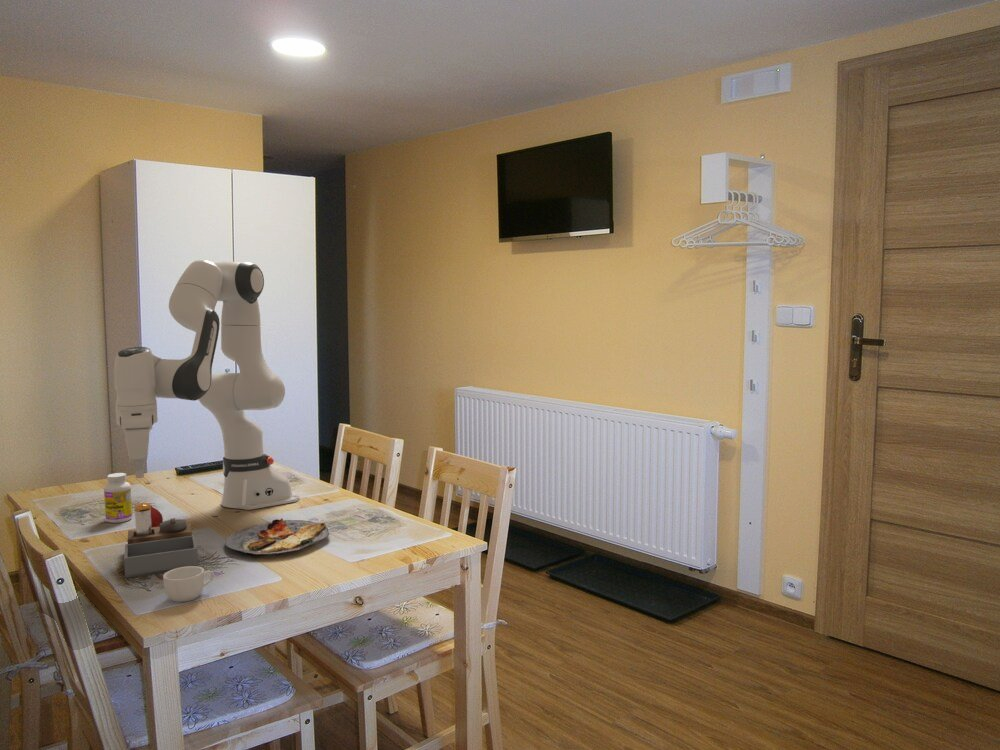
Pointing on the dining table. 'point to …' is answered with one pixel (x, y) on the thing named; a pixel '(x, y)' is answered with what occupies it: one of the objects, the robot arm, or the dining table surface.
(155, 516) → the red round piece
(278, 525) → the food plate
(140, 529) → the pin
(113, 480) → the supplement bottle
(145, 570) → the parts tray
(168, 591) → the teacup
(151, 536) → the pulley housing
